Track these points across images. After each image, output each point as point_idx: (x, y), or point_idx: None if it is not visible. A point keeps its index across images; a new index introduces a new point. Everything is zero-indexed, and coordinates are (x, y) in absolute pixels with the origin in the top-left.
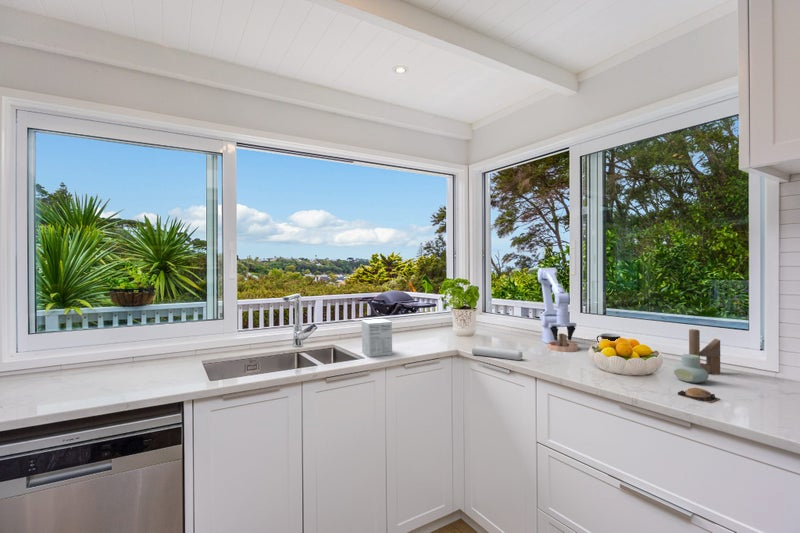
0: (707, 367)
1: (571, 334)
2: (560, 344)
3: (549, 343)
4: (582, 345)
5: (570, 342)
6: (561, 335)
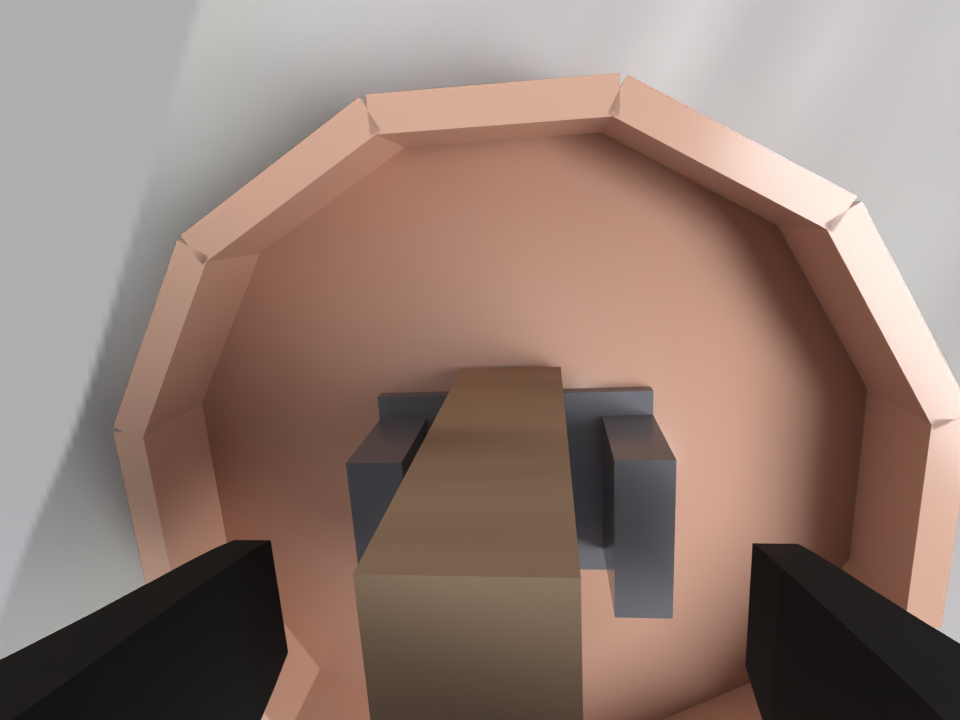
0: None
1: (50, 661)
2: (623, 451)
3: None
4: None
5: None
6: (581, 711)
